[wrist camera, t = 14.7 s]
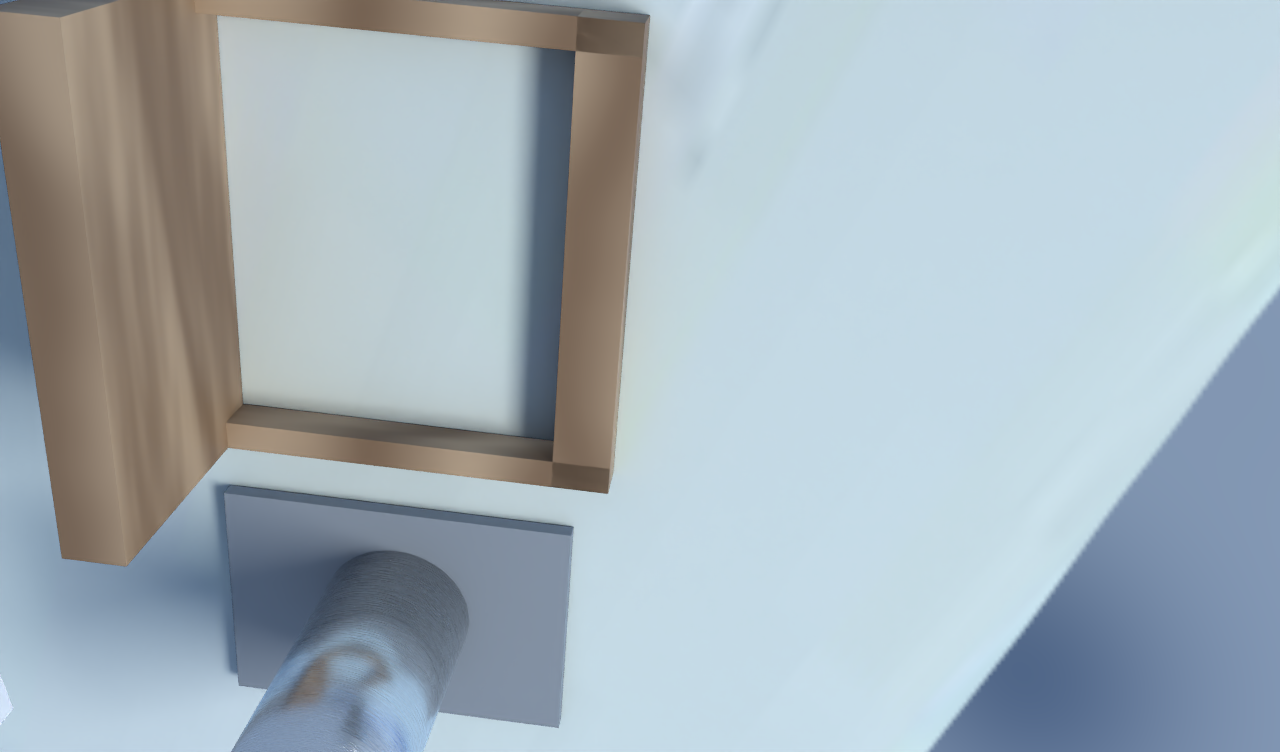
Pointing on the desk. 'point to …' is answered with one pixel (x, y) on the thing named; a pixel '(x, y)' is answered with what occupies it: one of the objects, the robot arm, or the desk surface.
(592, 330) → the frame
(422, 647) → the canister
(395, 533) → the felt pad
